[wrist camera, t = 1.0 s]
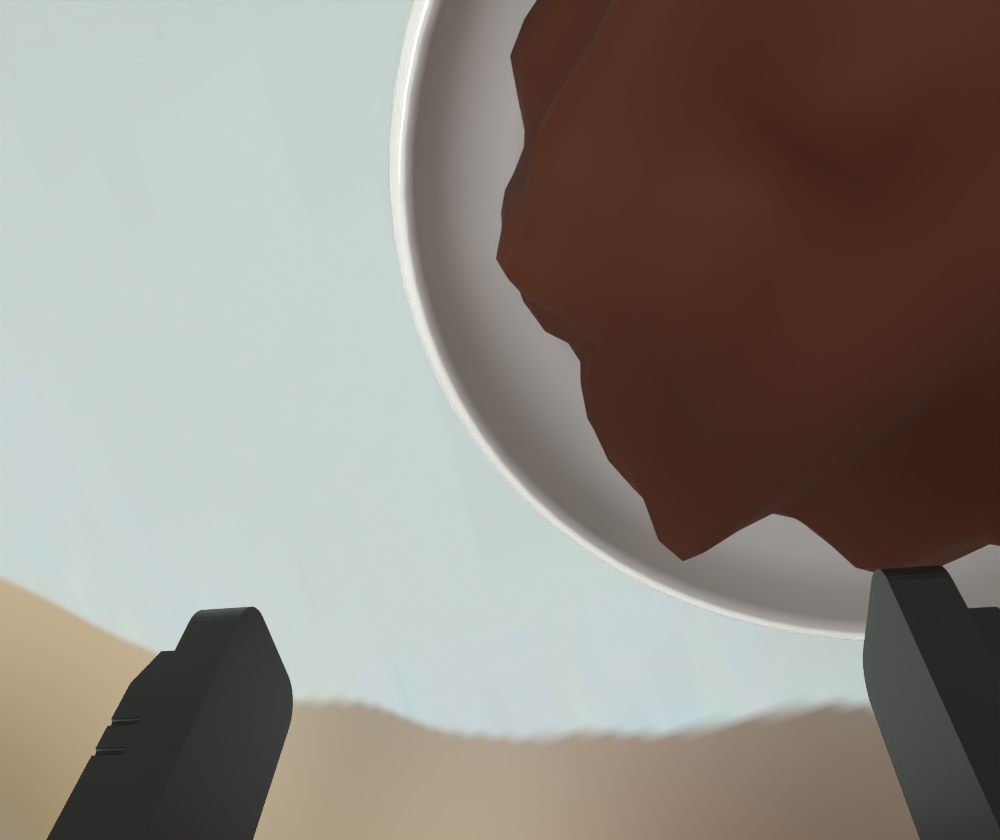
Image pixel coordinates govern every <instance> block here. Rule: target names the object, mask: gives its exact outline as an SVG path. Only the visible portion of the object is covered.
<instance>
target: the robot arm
mask: <svg viewBox="0 0 1000 840" xmlns="http://www.w3.org/2000/svg"><path fill="white" fill-rule="evenodd" d="M863 669H864V677H865V683H866V688H867V692H868V696H869V700H870V703H871V706H872V709H873V711H874V714H875V717H876V720H877V722H878V725H879V728H880V731H881V733H882V736H883V739H884V742H885V744H886V747H887V750H888V753H889V755H890V758H891V761H892V764H893V766H894V769H895V772H896V775H897V777H898V780H899V783H900V786H901V788H902V791H903V794H904V797H905V799H906V802H907V805H908V808H909V811H910V813H911V816H912V819H913V821H914V824H915V827H916V830H917V833H918V835H919V838H920V840H1000V609H999V608H998V607H979V608H968V607H967V605H966V603H965V601H964V599H963V598H962V596H961V594H960V592H959V590H958V588H957V586H956V585H955V583H954V581H953V579H952V577H951V576H950V574H949V572H948V571H947V570H946V569H945V568H944V567H943V566H940V565H936V566H920V567H904V568H889V569H876V570H875V571H874V573H873V575H872V580H871V588H870V596H869V605H868V613H867V622H866V630H865V639H864V648H863ZM292 708H293V696H292V687H291V683H290V679H289V677H288V674H287V672H286V670H285V667H284V665H283V663H282V660H281V658H280V656H279V653H278V651H277V649H276V646H275V644H274V642H273V639H272V637H271V635H270V632H269V630H268V628H267V626H266V623H265V621H264V619H263V616H262V615H261V613H260V611H259V610H258V609H256V608H255V607H241V608H225V609H210V610H200V611H198V612H197V613H195V614H194V616H193V617H192V618H191V620H190V621H189V623H188V625H187V627H186V629H185V631H184V633H183V635H182V637H181V639H180V641H179V643H178V645H177V647H176V649H175V651H161V652H160V653H159V654H158V655H157V656H156V657H155V659H153V661H152V662H151V663H150V664H149V665H148V666H147V667H146V668H145V669H144V670H143V671H142V672H141V673H140V674H139V675H138V676H137V677H136V678H135V679H134V680H133V681H132V682H131V683H130V685H129V687H128V689H127V691H126V693H125V694H124V696H123V698H122V700H121V702H120V704H119V706H118V708H117V709H116V711H115V713H114V715H113V717H112V724H111V726H107V728H106V730H105V732H104V734H103V735H102V737H101V739H100V741H99V743H98V745H97V747H96V754H95V756H91V758H90V760H89V762H88V763H87V765H86V767H85V769H84V771H83V773H82V775H81V776H80V778H79V780H78V782H77V784H76V786H75V788H74V790H73V791H72V793H71V795H70V797H69V799H68V801H67V803H66V805H65V806H64V808H63V810H62V812H61V814H60V816H59V817H58V819H57V821H56V823H55V825H54V827H53V829H52V831H51V832H50V834H49V836H48V838H47V840H253V837H254V834H255V831H256V828H257V825H258V822H259V819H260V816H261V813H262V810H263V806H264V804H265V800H266V797H267V794H268V791H269V788H270V785H271V782H272V779H273V776H274V773H275V770H276V767H277V763H278V760H279V757H280V754H281V751H282V748H283V745H284V742H285V739H286V736H287V733H288V729H289V726H290V722H291V716H292Z"/></svg>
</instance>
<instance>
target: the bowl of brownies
mask: <svg viewBox="0 0 1000 840" xmlns="http://www.w3.org/2000/svg"><path fill="white" fill-rule="evenodd" d="M389 189H390V200H391V211H392V222H393V233H394V238H395V244H396V249H397V254H398V260H399V265H400V270H401V276H402V281H403V285H404V288H405V292H406V295H407V299H408V302H409V306H410V309H411V313H412V316H413V320H414V323H415V327H416V329H417V332H418V334H419V337H420V339H421V342H422V345H423V347H424V350H425V352H426V355H427V357H428V360H429V362H430V365H431V367H432V369H433V371H434V373H435V375H436V377H437V379H438V381H439V383H440V385H441V387H442V389H443V391H444V393H445V395H446V397H447V399H448V401H449V403H450V404H451V406H452V407H453V409H454V411H455V412H456V414H457V415H458V417H459V419H460V420H461V422H462V423H463V425H464V427H465V428H466V430H467V431H468V433H469V435H470V436H471V438H472V439H473V440H474V442H475V443H476V444H477V445H478V447H479V448H480V449H481V451H482V452H483V453H484V455H485V456H486V457H487V459H488V460H489V461H490V463H491V464H492V465H493V467H494V468H495V469H496V470H497V471H498V472H499V473H500V474H501V476H502V477H503V478H504V479H505V480H506V481H507V482H508V483H509V484H510V485H511V486H512V488H513V489H514V490H515V491H516V492H517V493H518V494H519V495H520V496H521V497H522V498H523V499H524V500H525V501H526V502H527V503H528V504H529V505H530V506H531V507H533V508H534V509H535V510H536V511H537V512H538V513H539V514H540V515H541V516H542V517H543V518H545V519H546V520H547V521H548V522H549V523H550V524H551V525H553V526H554V527H555V528H556V529H558V530H559V531H560V532H562V533H563V534H564V535H566V536H567V537H568V538H569V539H571V540H572V541H573V542H575V543H576V544H577V545H579V546H580V547H581V548H583V549H584V550H586V551H587V552H589V553H591V554H592V555H594V556H595V557H597V558H598V559H600V560H601V561H603V562H604V563H606V564H608V565H609V566H611V567H612V568H614V569H616V570H618V571H619V572H621V573H623V574H625V575H627V576H629V577H631V578H633V579H634V580H636V581H638V582H640V583H642V584H644V585H646V586H647V587H650V588H652V589H654V590H657V591H659V592H661V593H663V594H666V595H668V596H670V597H673V598H675V599H677V600H679V601H682V602H684V603H687V604H690V605H692V606H695V607H698V608H701V609H704V610H707V611H710V612H712V613H715V614H718V615H721V616H724V617H728V618H732V619H736V620H739V621H743V622H747V623H751V624H754V625H758V626H762V627H767V628H772V629H777V630H783V631H788V632H793V633H798V634H804V635H812V636H821V637H829V638H838V639H846V640H864V639H865V630H866V622H867V613H868V605H869V596H870V588H871V580H872V575H873V573H874V571H875V570H876V569H889V568H904V567H920V566H936V565H940V566H943V567H944V568H945V569H946V570H947V571H948V572H949V574H950V576H951V577H952V579H953V581H954V583H955V585H956V586H957V588H958V590H959V592H960V594H961V596H962V598H963V599H964V601H965V603H966V605H967V607H968V608H979V607H998V608H999V609H1000V0H412V4H411V7H410V11H409V14H408V18H407V21H406V25H405V29H404V34H403V39H402V44H401V50H400V55H399V60H398V66H397V71H396V76H395V81H394V91H393V101H392V112H391V122H390V132H389Z"/></svg>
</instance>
